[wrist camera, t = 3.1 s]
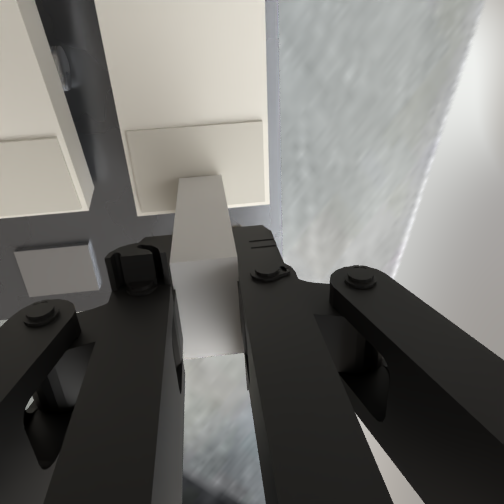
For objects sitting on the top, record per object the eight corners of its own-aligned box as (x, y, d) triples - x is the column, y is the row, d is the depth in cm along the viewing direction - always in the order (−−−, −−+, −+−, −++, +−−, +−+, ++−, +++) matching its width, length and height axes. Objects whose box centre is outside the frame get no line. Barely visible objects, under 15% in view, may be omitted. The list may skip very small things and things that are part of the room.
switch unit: (-151, -279, 15) (-362, -463, 9) (250, -278, 16) (280, -442, 10) (32, 268, 25) (-15, 340, 20) (268, 245, 27) (289, 306, 21)
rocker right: (80, -123, 12) (65, -138, 11) (254, -128, 13) (262, -144, 11) (141, 198, 18) (137, 218, 16) (263, 188, 18) (270, 205, 16)
